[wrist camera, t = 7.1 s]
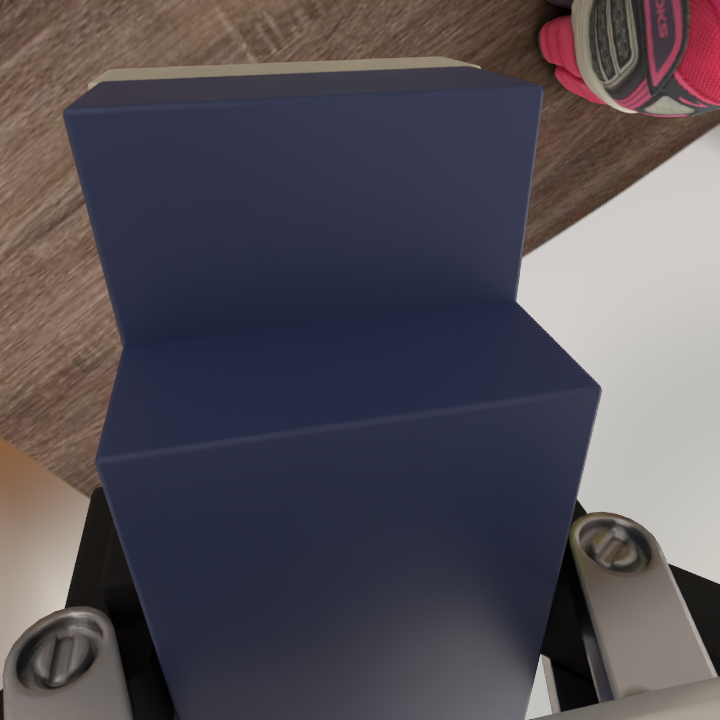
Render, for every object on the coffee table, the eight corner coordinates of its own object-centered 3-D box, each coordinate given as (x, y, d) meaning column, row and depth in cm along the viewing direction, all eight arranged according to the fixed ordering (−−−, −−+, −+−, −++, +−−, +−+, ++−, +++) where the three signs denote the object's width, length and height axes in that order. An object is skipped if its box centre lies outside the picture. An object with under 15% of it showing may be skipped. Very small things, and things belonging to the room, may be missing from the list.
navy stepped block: (221, 609, 15) (227, 896, 10) (105, 68, 8) (-26, 159, 4) (418, 572, 16) (507, 820, 11) (444, 56, 9) (681, 116, 5)
